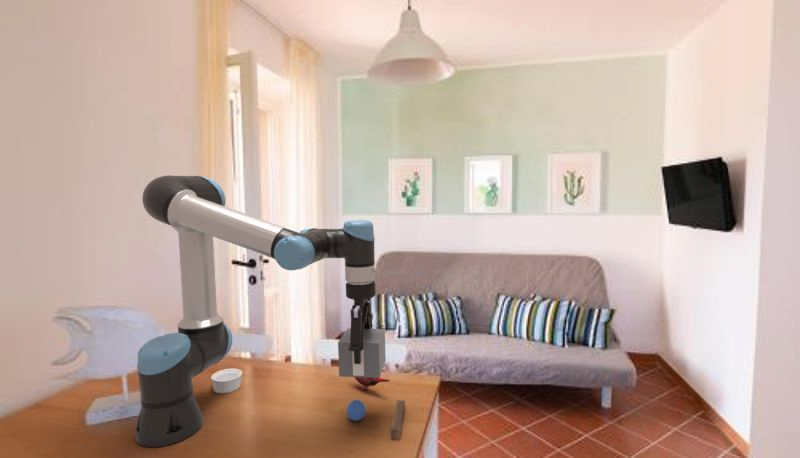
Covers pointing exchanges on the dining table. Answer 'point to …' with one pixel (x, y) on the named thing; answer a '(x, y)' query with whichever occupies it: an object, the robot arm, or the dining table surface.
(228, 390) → the ramekin
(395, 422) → the strip
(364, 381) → the decorative bird figurine
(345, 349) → the gray storage cube
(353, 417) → the ball
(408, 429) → the dining table surface
